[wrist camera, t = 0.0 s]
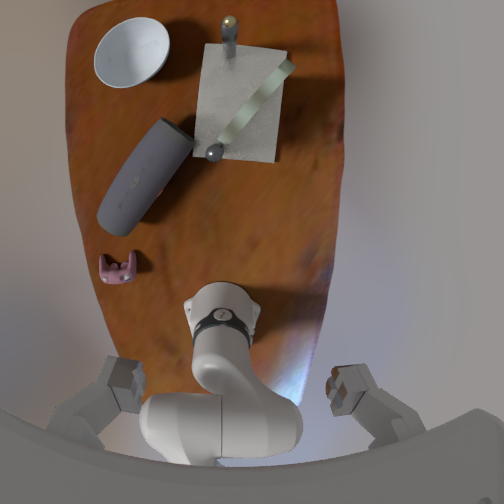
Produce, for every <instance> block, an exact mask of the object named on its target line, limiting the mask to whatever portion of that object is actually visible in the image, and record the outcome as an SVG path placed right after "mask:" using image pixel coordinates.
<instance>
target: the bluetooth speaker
mask: <svg viewBox="0 0 504 504" xmlns="http://www.w3.org/2000/svg"><path fill="white" fill-rule="evenodd" d="M195 143H196V142H195V141H194V140H193V139H192V138H191V137H190V136H189V135H188V134H186V133H184V132H183V131H181V130H180V129H179V128H178V127H177V126H176V125H175V124H173V123H172V122H170V121H168V120H167V119H165V118H163V117H162V118H160V119H159V120H158V121H157V122H156V123H155V124H154V125H153V126H152V127H151V129H150V130H149V131H148V132H147V133H146V135H145V136H144V137H143V138H142V140H141V141H140V142H139V144H138V145H137V146H136V148H135V149H134V150H133V152H132V153H131V155H130V156H129V157H128V159H127V160H126V162H125V163H124V165H123V166H122V168H121V170H120V171H119V173H118V174H117V176H116V178H115V179H114V181H113V183H112V184H111V186H110V188H109V190H108V192H107V193H106V195H105V197H104V199H103V201H102V203H101V205H100V208H99V210H98V213H97V219H98V222H99V224H100V225H101V226H102V228H104V229H105V230H106V231H107V232H109V233H111V234H112V235H115V236H127V235H129V234H130V232H131V231H132V230H133V229H134V228H135V226H136V225H137V224H138V222H139V221H140V220H141V218H142V217H143V216H144V214H145V213H146V212H147V210H148V209H149V208H150V206H151V205H152V204H153V202H154V201H155V199H156V198H157V197H158V196H159V195H160V194H161V192H162V191H163V189H164V187H165V186H166V184H167V183H168V182H169V180H170V179H171V177H172V176H173V175H174V173H175V172H176V171H177V169H178V168H179V166H180V165H181V164H182V162H183V161H184V159H185V158H186V157H187V155H188V154H189V153H190V151H191V149H192V148H193V146H194V145H195Z"/></svg>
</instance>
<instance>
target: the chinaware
mask: <svg viewBox="0 0 504 504" xmlns="http://www.w3.org/2000/svg"><path fill="white" fill-rule="evenodd" d="M169 49H170V39H169V34H168V32H167V30H166V28H165V27H164V26H163V25H162V24H161V23H160V22H158V21H156V20H154V19H151V18H144V17H140V18H133V19H129V20H126V21H124V22H122V23H120V24H118V25H117V26H115V27H114V28H112V29H111V30H110V31H109V32H108V33H107V34H106V35H105V36H104V37H103V39H102V40H101V42H100V43H99V45H98V47H97V50H96V53H95V57H94V68H95V71H96V74H97V76H98V77H99V79H100V80H101V81H102V82H103V83H105V84H107V85H109V86H111V87H116V88H128V87H133V86H136V85H139V84H142V83H144V82H146V81H147V80H149V79H151V78H152V77H153V76H154V75H156V74H157V73H158V72H159V70H160V69H161V68H162V67H163V65H164V63H165V62H166V60H167V57H168V54H169Z"/></svg>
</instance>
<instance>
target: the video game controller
mask: <svg viewBox="0 0 504 504" xmlns="http://www.w3.org/2000/svg"><path fill="white" fill-rule="evenodd" d="M136 264H137V263H136V254H135V252H134V251H131V252H130V254H129V263H128V262H123V263H122V264H121V269H120V270H119V267H118V265H117V264H116V263H113V264H111V265H110V267H109V268H107V265H106V259H105V257H104V255H101V256H100V259H99V272H100V277H101V279H102V281H103V282H104V283H108V284H120V283H124V282H130V281H133V280H134V279H135V278H136V275H137V272H136Z"/></svg>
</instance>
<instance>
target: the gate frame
mask: <svg viewBox="0 0 504 504" xmlns="http://www.w3.org/2000/svg"><path fill="white" fill-rule="evenodd" d="M221 30H222V42H223V44H205V49H204V56H203V63H202V70H201V78H200V86H199V95H198V104H197V113H196V124H195V135H194V141H195V142H196V143H195V145H194V148H193V157H206V158H207V159H208V160H209V161H211V162H217V161H219V160H220V159H221V158H224V159H237V160H249V161H259V162H269V163H274V161H275V152H276V144H277V136H278V127H279V118H280V110H281V101H282V92H283V83H284V81H283V82H282V83H281V84H280V85H279V86H278V88H277V89H276V90H275V91H274V92H273V93H272V94H271V95H270V97H269V98H268V99H267V100H266V101H265V102H264V104H263V105H262V106H261V107H260V108H259V109H258V111H257V112H256V113H255V114H254V115H253V117H252V118H251V119H250V120H249V121H248V123H247V124H246V125H245V126H244V127H243V129H242V130H241V131H240V132H239V134H238V135H237V136H236V137H235V139H234V140H233V141H232V142H231V144H230V145H229V146H226V145H225V144H223V143H222V142H221V141H219V140H218V139H217V138H218V137H219V135H220V134H221V133H222V132H223V130H224V129H225V128H226V126H227V125H228V124H229V123H230V121H231V120H232V119H233V118H234V117H235V115H236V114H237V113H238V112H239V110H240V109H241V108H242V107H243V106H244V104H245V103H246V102H247V101H248V100H249V99H250V97H251V96H252V95H253V94H254V93H255V92H256V90H257V89H258V88H259V87H260V86H261V85H262V84H263V83H264V81H265V80H266V79H267V78H268V77H269V76H270V75H271V74H272V73H273V72H274V70H275V69H276V68H277V67H278V66H279V65H280V64H281V63H282V62H283V61H284V60H285V59H286V56H287V51H282V50H275V49H268V48H261V47H252V46H242V45H237V33H238V20H237V19H236V18H235V17H233V16H226V17H225V18H224V19H223V20H222V22H221Z"/></svg>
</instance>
